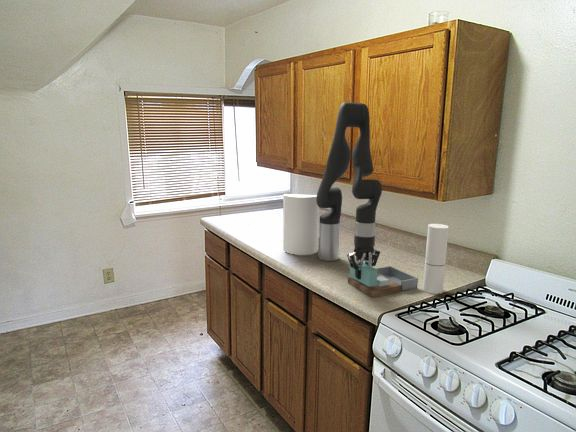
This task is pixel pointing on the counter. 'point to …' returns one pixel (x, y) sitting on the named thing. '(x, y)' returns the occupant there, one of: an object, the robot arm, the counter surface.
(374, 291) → the board
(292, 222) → the cylinder
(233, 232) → the counter surface
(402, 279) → the tray
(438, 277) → the cylindrical container
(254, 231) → the counter surface
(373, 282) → the mint green rectangular block
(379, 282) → the blue tile
